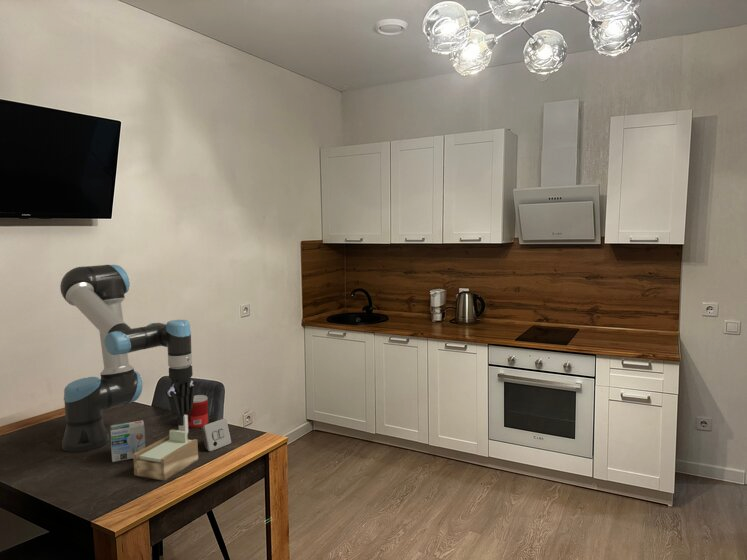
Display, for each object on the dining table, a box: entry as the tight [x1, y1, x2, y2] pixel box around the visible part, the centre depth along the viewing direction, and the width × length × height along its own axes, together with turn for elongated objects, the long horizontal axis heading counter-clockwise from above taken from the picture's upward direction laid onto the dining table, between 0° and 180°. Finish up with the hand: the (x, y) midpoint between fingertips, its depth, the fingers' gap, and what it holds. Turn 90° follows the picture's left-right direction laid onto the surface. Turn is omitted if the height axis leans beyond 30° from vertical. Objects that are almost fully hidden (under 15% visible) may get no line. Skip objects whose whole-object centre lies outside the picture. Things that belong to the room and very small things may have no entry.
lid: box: [139, 429, 189, 462], centre depth 171 cm, size 8×14×4 cm, turn 160°
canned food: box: [188, 394, 210, 429], centre depth 209 cm, size 8×8×11 cm
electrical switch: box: [200, 418, 232, 452], centre depth 189 cm, size 9×5×9 cm, turn 141°
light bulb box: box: [110, 420, 146, 463], centre depth 181 cm, size 11×7×11 cm, turn 117°
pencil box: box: [132, 434, 199, 482], centre depth 172 cm, size 12×16×7 cm
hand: (183, 433), depth 180 cm, fingers closed
